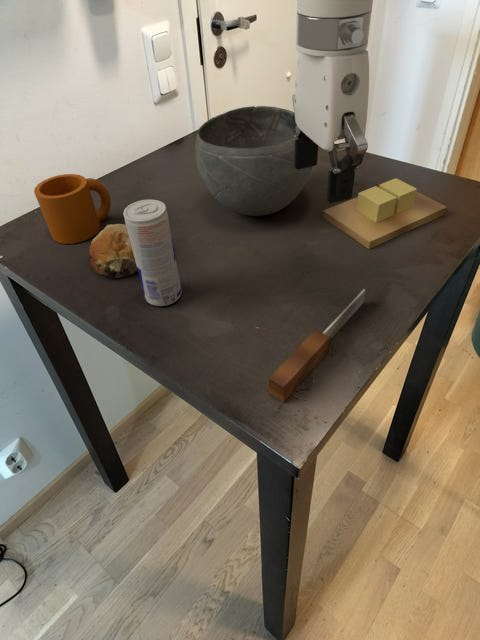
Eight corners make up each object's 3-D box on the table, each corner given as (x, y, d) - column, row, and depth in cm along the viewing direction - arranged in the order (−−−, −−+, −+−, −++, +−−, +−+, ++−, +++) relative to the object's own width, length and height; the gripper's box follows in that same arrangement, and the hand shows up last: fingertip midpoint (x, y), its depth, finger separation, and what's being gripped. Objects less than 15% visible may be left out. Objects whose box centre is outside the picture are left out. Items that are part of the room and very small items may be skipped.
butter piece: (372, 203, 84) (375, 185, 81) (393, 215, 80) (396, 197, 78) (355, 210, 82) (358, 192, 80) (375, 223, 79) (379, 204, 77)
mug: (122, 231, 84) (110, 186, 78) (55, 249, 81) (36, 203, 75) (111, 209, 90) (99, 165, 84) (49, 225, 87) (31, 180, 81)
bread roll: (162, 273, 80) (165, 227, 77) (125, 286, 71) (127, 234, 69) (115, 261, 84) (117, 216, 81) (74, 271, 75) (75, 222, 72)
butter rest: (392, 195, 85) (395, 177, 83) (413, 206, 82) (417, 188, 80) (376, 202, 84) (379, 184, 81) (396, 214, 81) (400, 195, 78)
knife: (283, 402, 55) (284, 387, 53) (268, 393, 56) (268, 378, 54) (369, 306, 66) (372, 290, 64) (355, 300, 68) (357, 284, 65)
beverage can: (189, 291, 71) (174, 203, 61) (166, 313, 68) (146, 224, 57) (161, 280, 73) (142, 194, 63) (137, 300, 70) (113, 213, 60)
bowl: (278, 169, 98) (278, 94, 88) (334, 215, 84) (342, 132, 74) (185, 195, 92) (174, 118, 82) (229, 248, 78) (222, 164, 68)
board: (395, 188, 90) (396, 181, 89) (445, 214, 82) (447, 207, 81) (322, 217, 84) (322, 210, 83) (368, 249, 76) (370, 241, 75)
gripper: (411, 45, 43) (382, 208, 55) (327, 11, 55) (318, 151, 67) (338, 57, 42) (324, 222, 54) (268, 19, 54) (270, 161, 66)
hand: (321, 182), depth 60 cm, fingers open, 9 cm apart
